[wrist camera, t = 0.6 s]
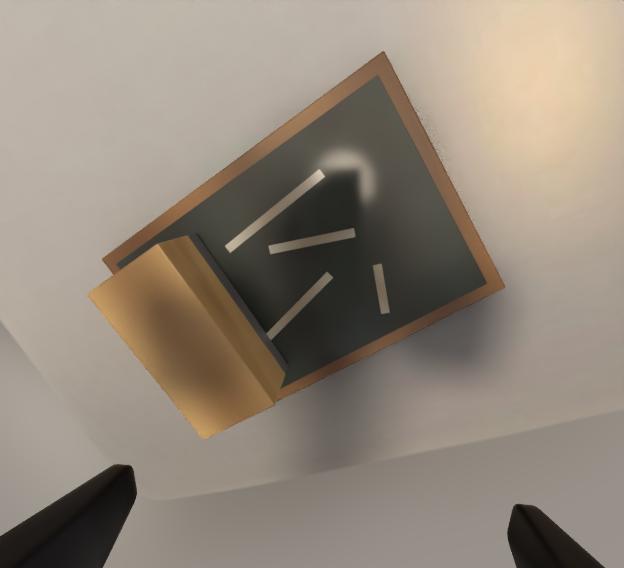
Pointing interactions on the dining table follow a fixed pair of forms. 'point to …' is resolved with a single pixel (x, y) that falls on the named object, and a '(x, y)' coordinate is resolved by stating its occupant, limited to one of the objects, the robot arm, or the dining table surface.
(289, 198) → the slate board
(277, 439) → the dining table surface
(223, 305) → the eraser
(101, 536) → the robot arm
